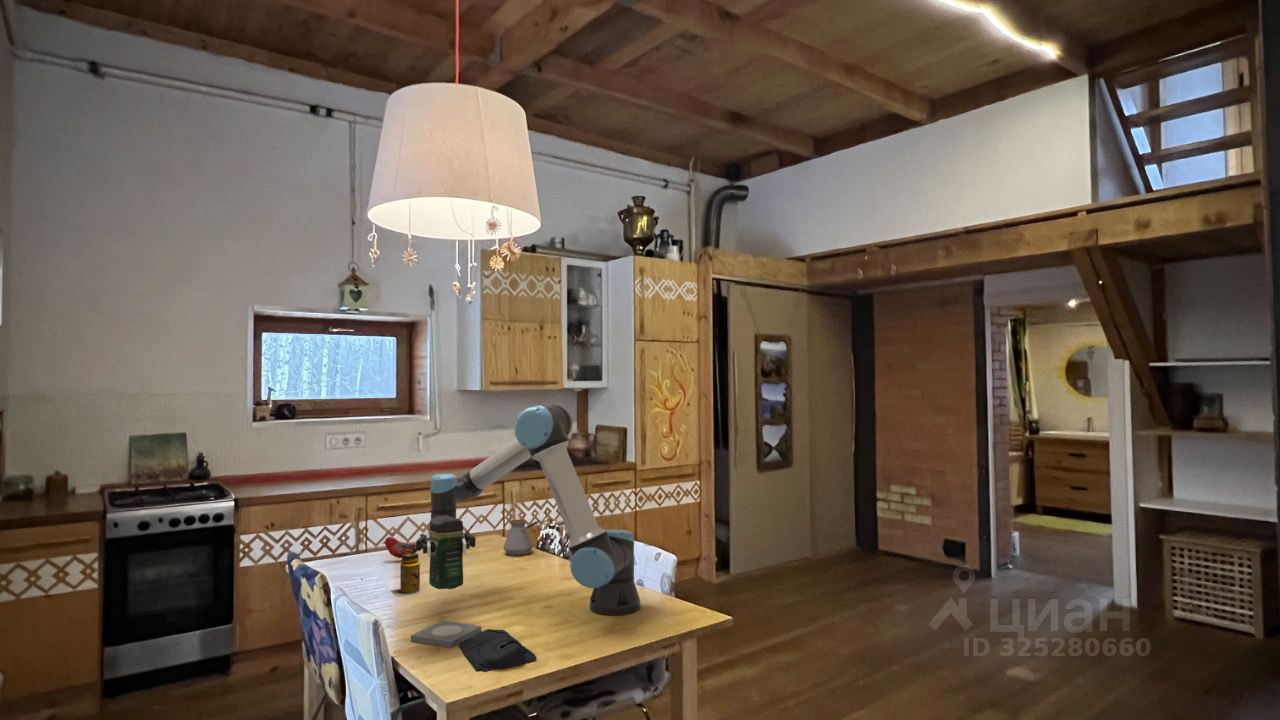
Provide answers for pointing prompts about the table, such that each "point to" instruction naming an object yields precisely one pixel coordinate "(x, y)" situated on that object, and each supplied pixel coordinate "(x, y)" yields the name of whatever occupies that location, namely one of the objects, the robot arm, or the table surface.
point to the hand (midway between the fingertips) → (447, 550)
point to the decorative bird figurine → (399, 547)
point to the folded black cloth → (495, 651)
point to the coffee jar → (446, 552)
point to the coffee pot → (518, 538)
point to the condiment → (409, 575)
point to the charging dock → (446, 633)
